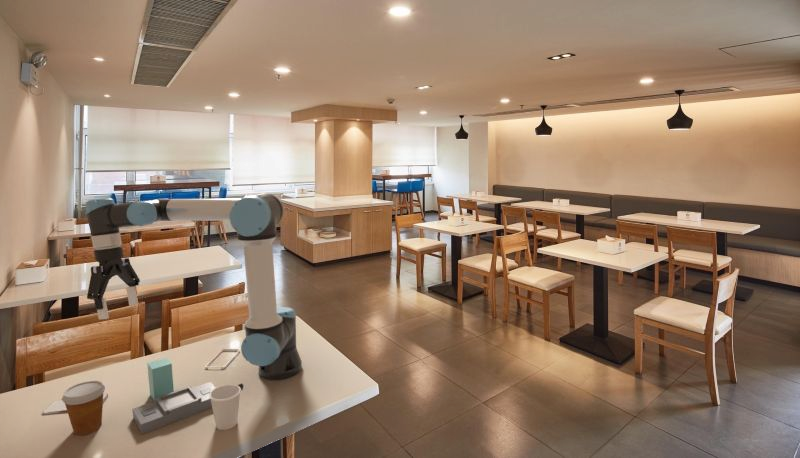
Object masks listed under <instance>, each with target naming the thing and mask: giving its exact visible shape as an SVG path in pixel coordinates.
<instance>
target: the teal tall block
mask: <svg viewBox="0 0 800 458" xmlns="http://www.w3.org/2000/svg"><path fill="white" fill-rule="evenodd" d="M172 365H173V363H172V362H171V361H170V360H169V358H167V357H164V358H161V359H158V360H154V361H150V362H147V374H148V375H147V376H148V385H149V396H150V397H151V399H152V401H153V402H154V401H156V398H159V396H162V395H165V394H168V393H171V392H174V391H175V389H174V378H173V377H174V376H173V366H172Z"/></svg>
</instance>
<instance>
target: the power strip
mask: <svg viewBox="0 0 800 458" xmlns="http://www.w3.org/2000/svg"><path fill="white" fill-rule="evenodd" d="M237 386H239V387H240V388H241V389H242V388H243V387H244V383H239V384H237ZM215 388H217V387H216V386H215V385H214V384H213V383H212V382H211V381H208V382H206V383H203V384H201V385H198V386H194V387H193V386H186V387H183V388H180V389H176V390H174V392H171V393H168V394H165V395H162V396H159V398H156V401H154V400H153V401H151V402H148V403H146V404H142V405H140V406H137V407H133V408H131V409H132V418H133V420H134V422H135V424H136V426H137V428H138V429H139V431H140V433H141V435H145V434H147V433H149V432H152V431H154V430H157V429H159V428H162V427H164V426H167V425H169V424H172V423H175V422H177V421H180V420H183V419H186V418H188V417H190V416H193V415H196V414H198V413H200V412H203V411H206V410H208V409H211V408H212V404H211V399H210V398H209V394H210V392H211V391H212V390H213V389H215Z"/></svg>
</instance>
